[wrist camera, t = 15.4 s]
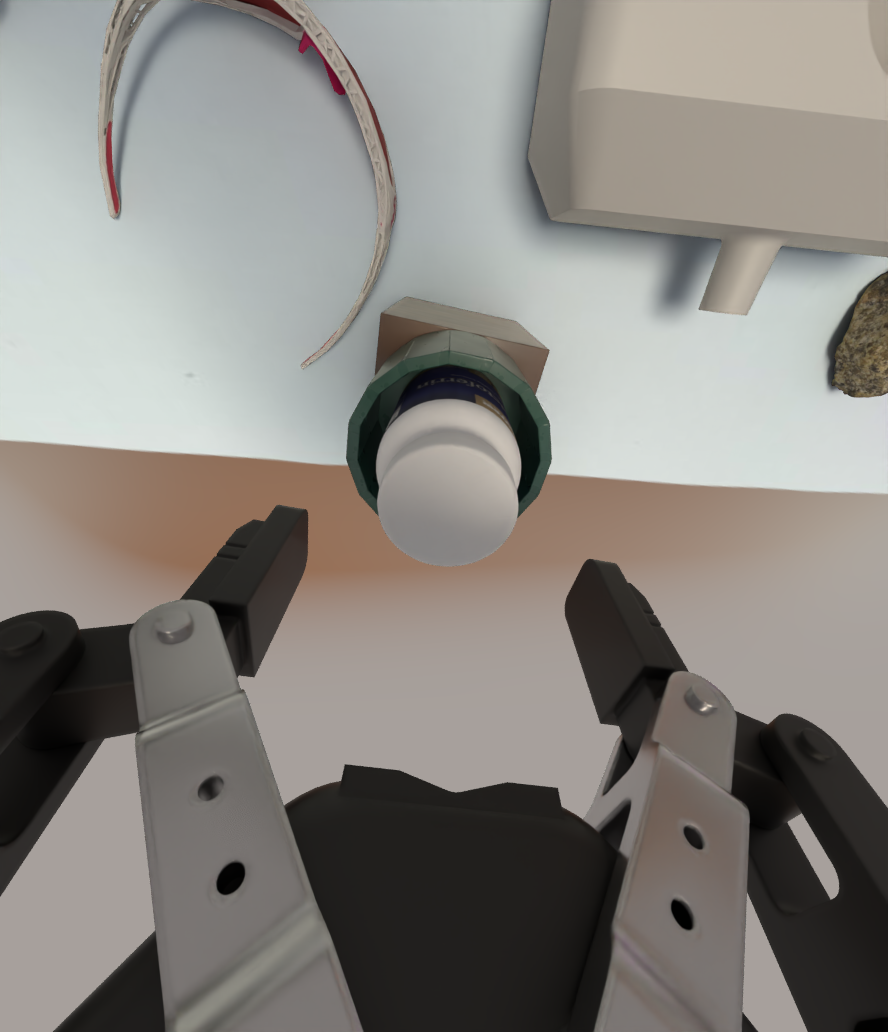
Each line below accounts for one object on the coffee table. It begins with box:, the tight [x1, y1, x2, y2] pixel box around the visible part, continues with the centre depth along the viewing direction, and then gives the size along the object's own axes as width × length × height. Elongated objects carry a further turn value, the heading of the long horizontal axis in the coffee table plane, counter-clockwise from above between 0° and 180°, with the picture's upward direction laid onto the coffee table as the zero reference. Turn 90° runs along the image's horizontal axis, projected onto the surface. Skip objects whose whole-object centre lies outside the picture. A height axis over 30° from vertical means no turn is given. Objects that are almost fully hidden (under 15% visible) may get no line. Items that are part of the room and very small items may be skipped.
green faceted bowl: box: [346, 330, 552, 518], centre depth 19 cm, size 9×9×6 cm
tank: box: [528, 0, 888, 315], centre depth 19 cm, size 25×16×12 cm, turn 85°
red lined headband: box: [98, 0, 397, 369], centre depth 25 cm, size 17×17×5 cm
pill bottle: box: [376, 364, 521, 566], centre depth 17 cm, size 6×6×10 cm
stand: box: [375, 297, 549, 394], centre depth 27 cm, size 9×9×12 cm
